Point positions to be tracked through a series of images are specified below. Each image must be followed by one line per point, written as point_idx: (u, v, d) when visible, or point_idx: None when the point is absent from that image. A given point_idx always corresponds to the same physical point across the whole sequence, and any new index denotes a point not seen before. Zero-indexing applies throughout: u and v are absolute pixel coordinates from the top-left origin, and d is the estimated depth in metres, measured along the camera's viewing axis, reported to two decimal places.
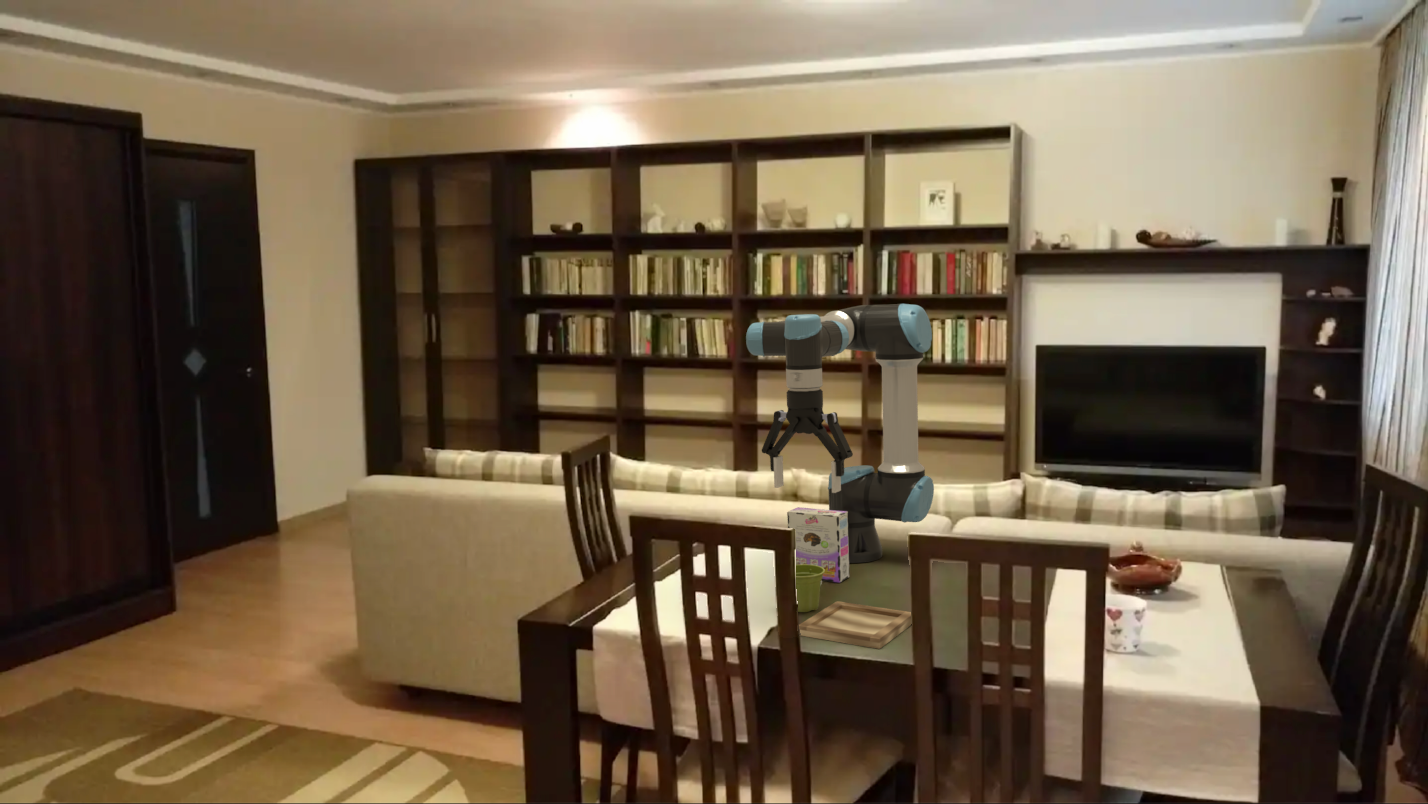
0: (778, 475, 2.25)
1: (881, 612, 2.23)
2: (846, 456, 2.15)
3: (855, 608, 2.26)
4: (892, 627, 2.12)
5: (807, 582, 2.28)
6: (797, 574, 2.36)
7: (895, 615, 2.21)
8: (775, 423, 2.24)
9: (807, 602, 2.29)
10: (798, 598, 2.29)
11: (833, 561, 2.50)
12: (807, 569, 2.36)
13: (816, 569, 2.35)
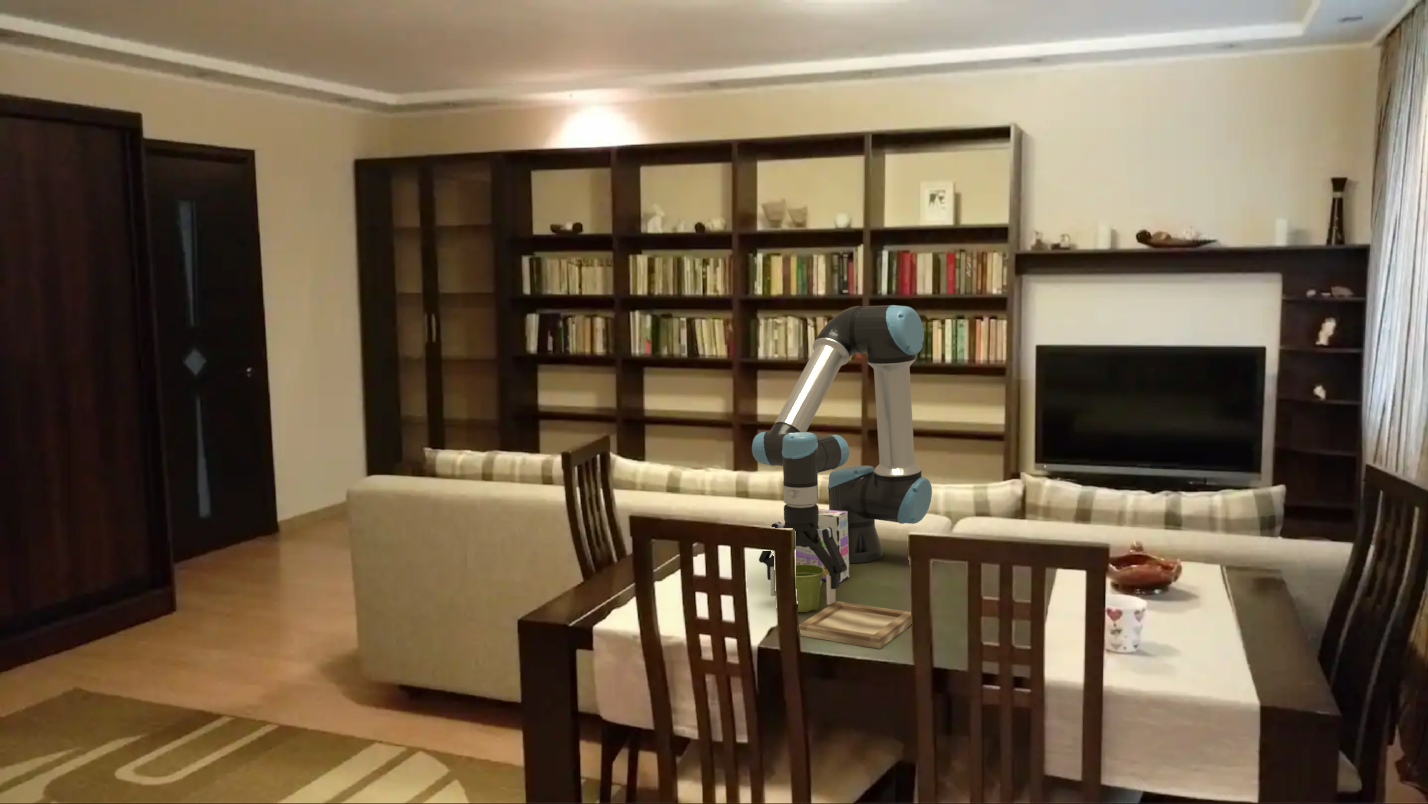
0: (774, 584, 2.35)
1: (881, 612, 2.23)
2: (841, 570, 2.25)
3: (855, 608, 2.26)
4: (892, 627, 2.12)
5: (807, 582, 2.28)
6: (797, 574, 2.36)
7: (895, 615, 2.21)
8: None
9: (807, 602, 2.29)
10: (798, 598, 2.29)
11: None
12: (807, 569, 2.36)
13: (816, 569, 2.35)
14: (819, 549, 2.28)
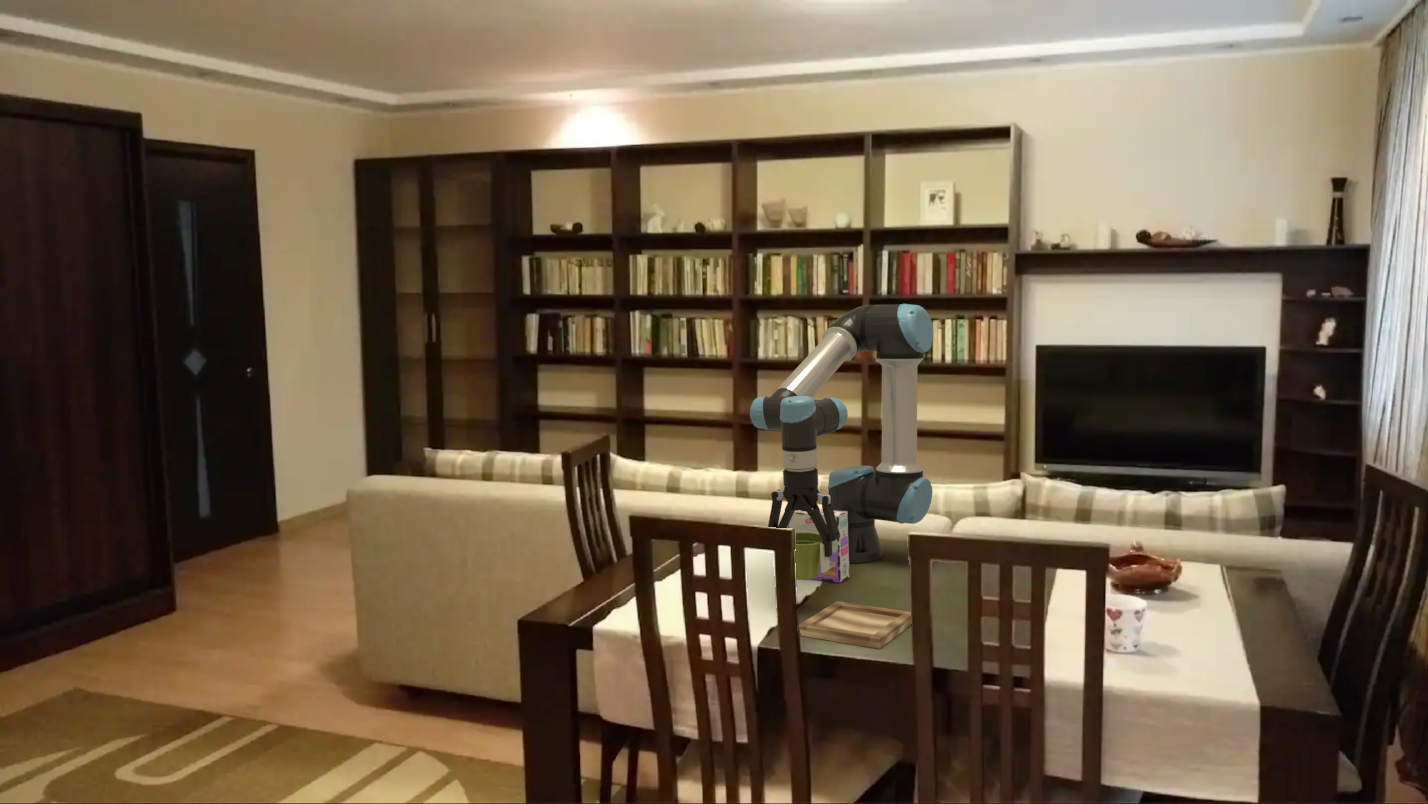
0: None
1: (881, 612, 2.23)
2: (834, 539, 2.26)
3: (855, 608, 2.26)
4: (892, 627, 2.12)
5: (807, 550, 2.27)
6: (797, 542, 2.35)
7: (895, 615, 2.21)
8: (774, 503, 2.32)
9: (807, 570, 2.29)
10: (798, 566, 2.29)
11: (833, 561, 2.50)
12: (807, 537, 2.35)
13: (816, 537, 2.34)
14: (816, 515, 2.28)
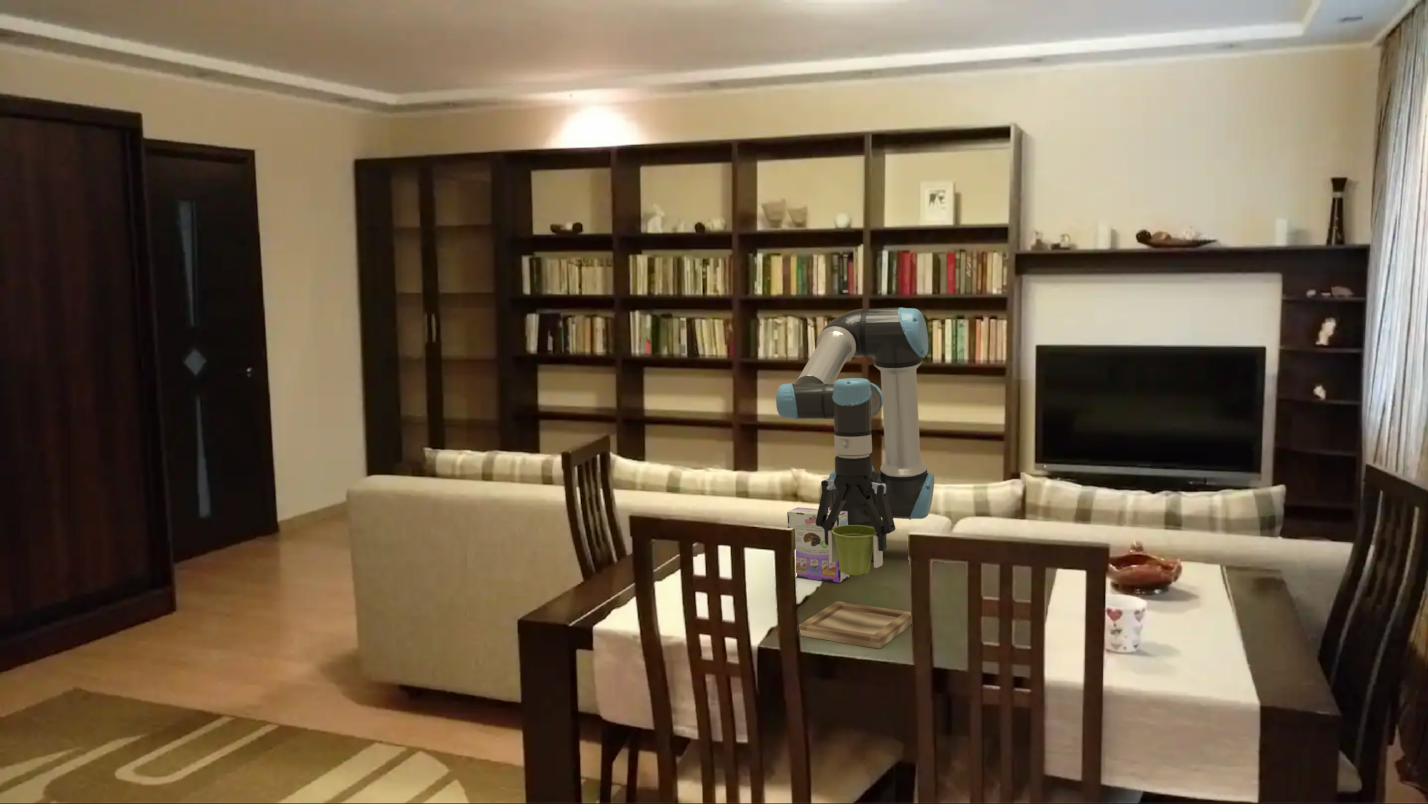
0: (833, 549, 2.18)
1: (881, 612, 2.23)
2: (889, 531, 2.10)
3: (855, 608, 2.26)
4: (892, 627, 2.12)
5: (860, 543, 2.12)
6: (847, 535, 2.20)
7: (895, 615, 2.21)
8: (824, 492, 2.17)
9: (859, 564, 2.13)
10: (849, 560, 2.13)
11: None
12: (858, 530, 2.20)
13: (868, 530, 2.19)
14: (870, 506, 2.12)
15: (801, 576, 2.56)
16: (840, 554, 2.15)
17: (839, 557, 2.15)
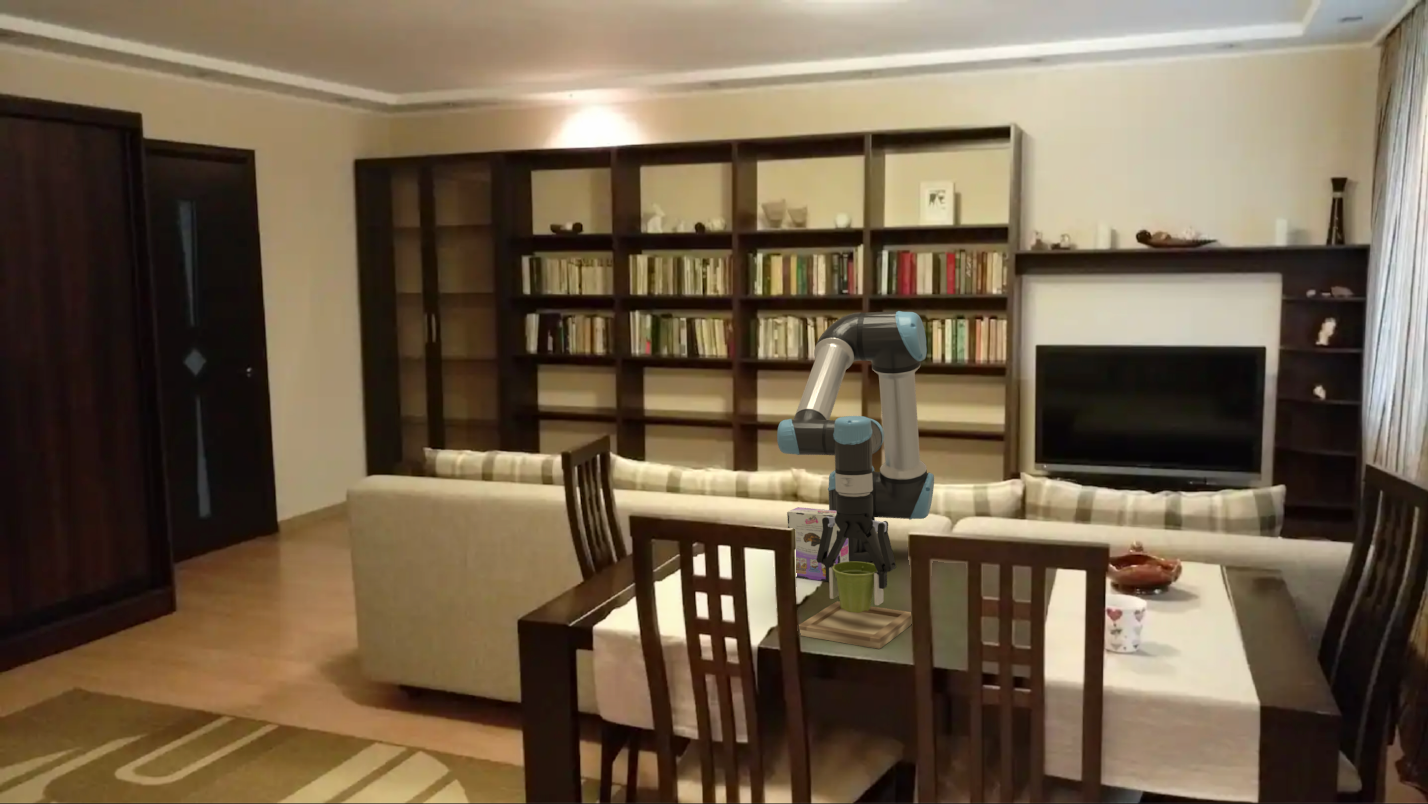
0: (834, 585, 2.19)
1: (881, 612, 2.23)
2: (889, 569, 2.11)
3: None
4: (892, 627, 2.12)
5: (861, 581, 2.13)
6: (848, 572, 2.21)
7: (895, 615, 2.21)
8: (825, 529, 2.18)
9: (859, 602, 2.14)
10: (850, 598, 2.14)
11: None
12: (858, 566, 2.21)
13: (868, 567, 2.20)
14: (871, 544, 2.13)
15: (801, 576, 2.56)
16: (841, 591, 2.16)
17: (840, 594, 2.16)
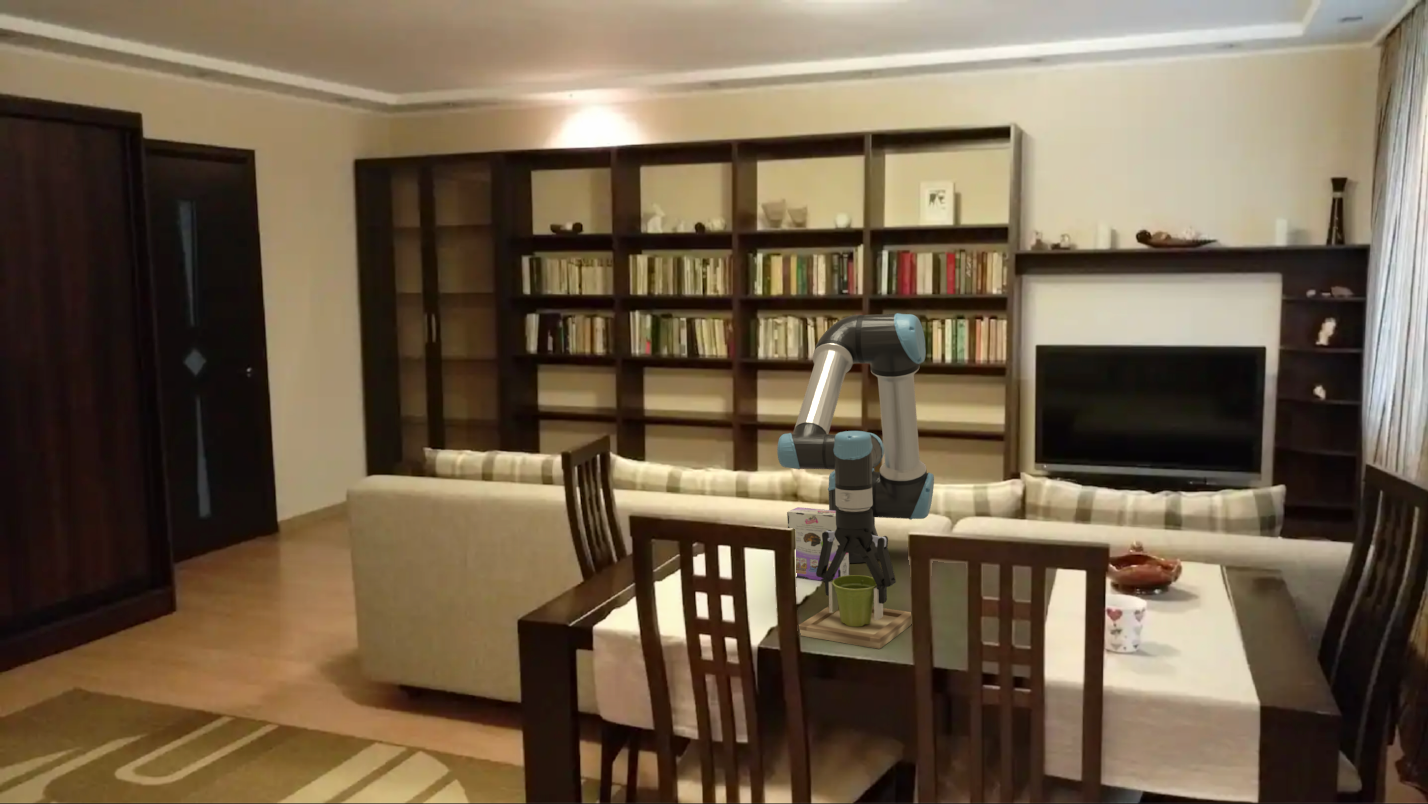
0: (833, 600, 2.19)
1: None
2: (889, 584, 2.11)
3: None
4: (892, 627, 2.12)
5: (860, 595, 2.13)
6: (848, 585, 2.21)
7: (895, 615, 2.21)
8: (825, 544, 2.18)
9: (860, 616, 2.15)
10: (850, 612, 2.15)
11: None
12: (858, 580, 2.21)
13: (868, 580, 2.20)
14: (871, 559, 2.14)
15: (801, 576, 2.56)
16: (841, 605, 2.16)
17: (840, 608, 2.17)
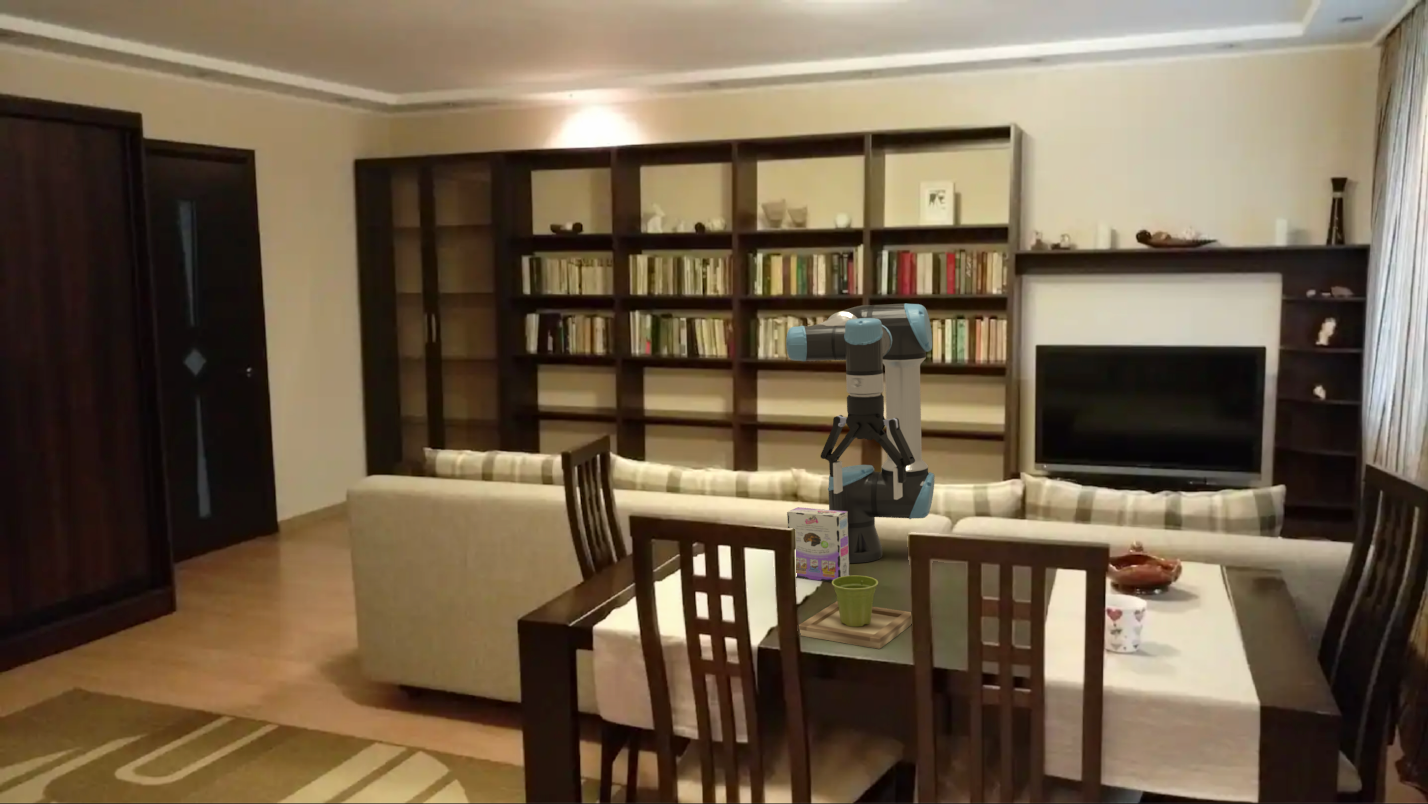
0: (837, 481, 2.22)
1: (881, 612, 2.23)
2: (909, 463, 2.12)
3: None
4: (892, 627, 2.12)
5: (860, 595, 2.13)
6: (847, 586, 2.21)
7: (895, 615, 2.21)
8: (835, 428, 2.21)
9: (859, 616, 2.15)
10: (850, 612, 2.15)
11: (833, 561, 2.50)
12: (858, 580, 2.21)
13: (868, 580, 2.20)
14: (885, 441, 2.15)
15: (801, 576, 2.56)
16: (841, 606, 2.16)
17: (840, 609, 2.17)
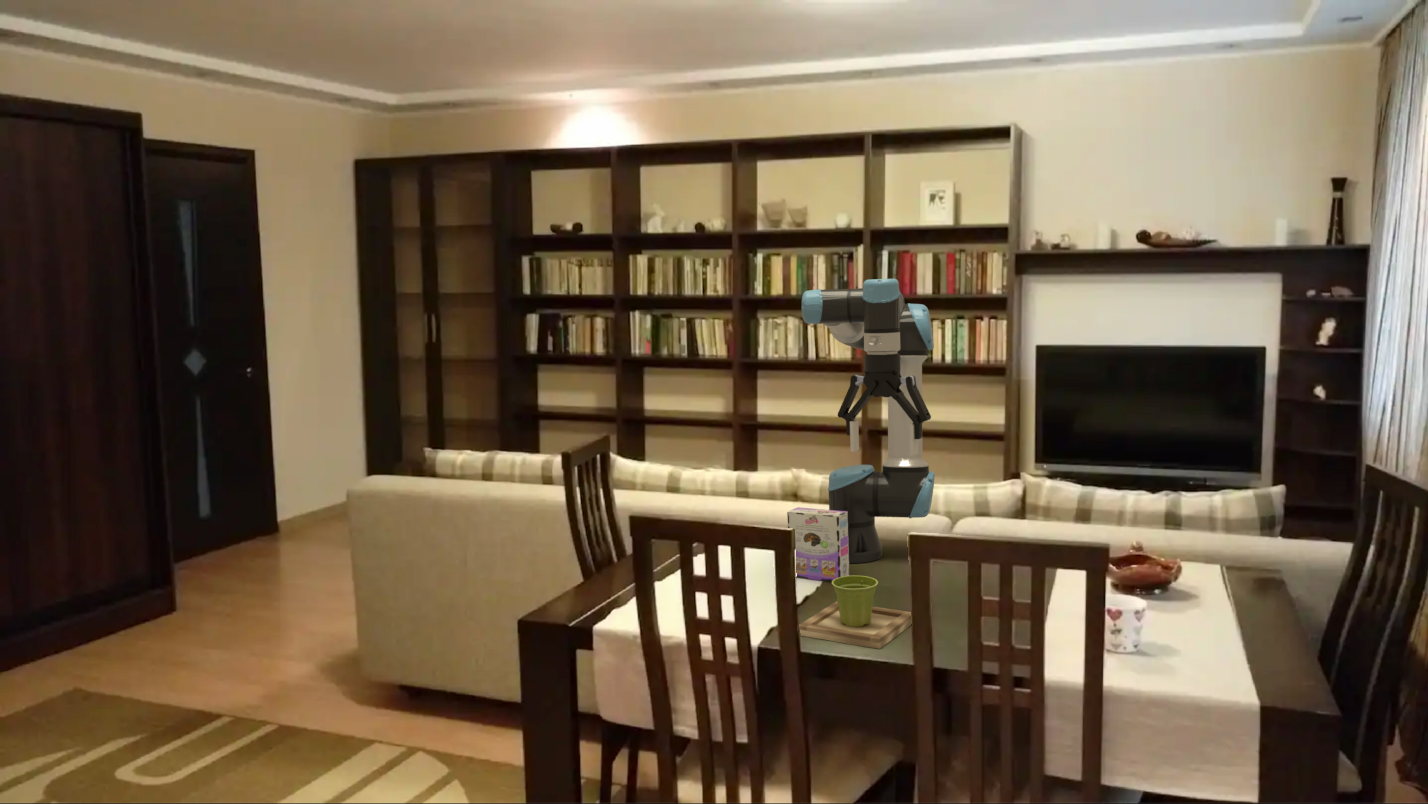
0: (854, 439, 2.27)
1: (881, 612, 2.23)
2: (925, 419, 2.17)
3: None
4: (892, 627, 2.12)
5: (860, 595, 2.13)
6: (847, 586, 2.21)
7: (895, 615, 2.21)
8: (852, 387, 2.25)
9: (859, 616, 2.15)
10: (850, 612, 2.15)
11: (833, 561, 2.50)
12: (858, 580, 2.21)
13: (868, 580, 2.20)
14: (902, 398, 2.20)
15: (801, 576, 2.56)
16: (841, 606, 2.16)
17: (840, 609, 2.17)
